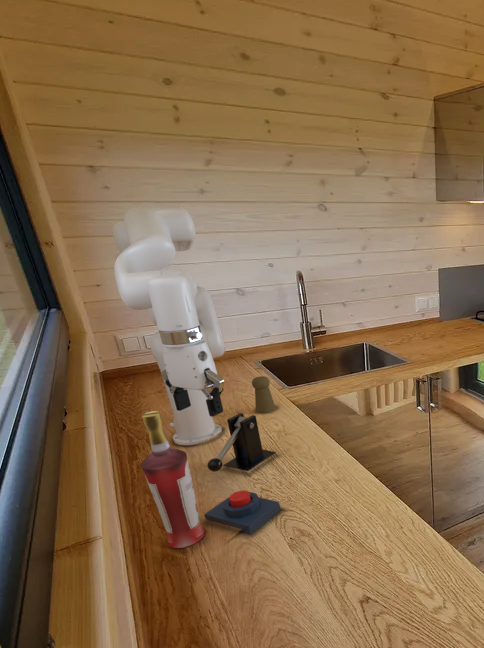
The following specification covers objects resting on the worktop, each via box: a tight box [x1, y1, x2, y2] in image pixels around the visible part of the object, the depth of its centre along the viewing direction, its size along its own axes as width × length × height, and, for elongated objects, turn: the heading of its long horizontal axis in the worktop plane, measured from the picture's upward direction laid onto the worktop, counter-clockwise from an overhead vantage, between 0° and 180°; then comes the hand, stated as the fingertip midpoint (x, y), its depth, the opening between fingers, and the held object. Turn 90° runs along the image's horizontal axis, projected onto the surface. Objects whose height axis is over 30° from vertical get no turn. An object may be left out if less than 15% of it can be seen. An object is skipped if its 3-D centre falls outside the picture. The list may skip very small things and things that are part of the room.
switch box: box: [204, 491, 282, 536], centre depth 104 cm, size 12×9×4 cm
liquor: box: [140, 410, 207, 549], centre depth 92 cm, size 7×7×28 cm
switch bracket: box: [222, 412, 277, 472], centre depth 124 cm, size 10×8×13 cm
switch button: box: [228, 490, 251, 507], centre depth 103 cm, size 4×4×2 cm
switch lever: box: [207, 416, 247, 473], centre depth 119 cm, size 15×3×3 cm
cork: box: [251, 375, 276, 414], centre depth 156 cm, size 6×6×11 cm
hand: (200, 411), depth 108 cm, fingers open, 9 cm apart
